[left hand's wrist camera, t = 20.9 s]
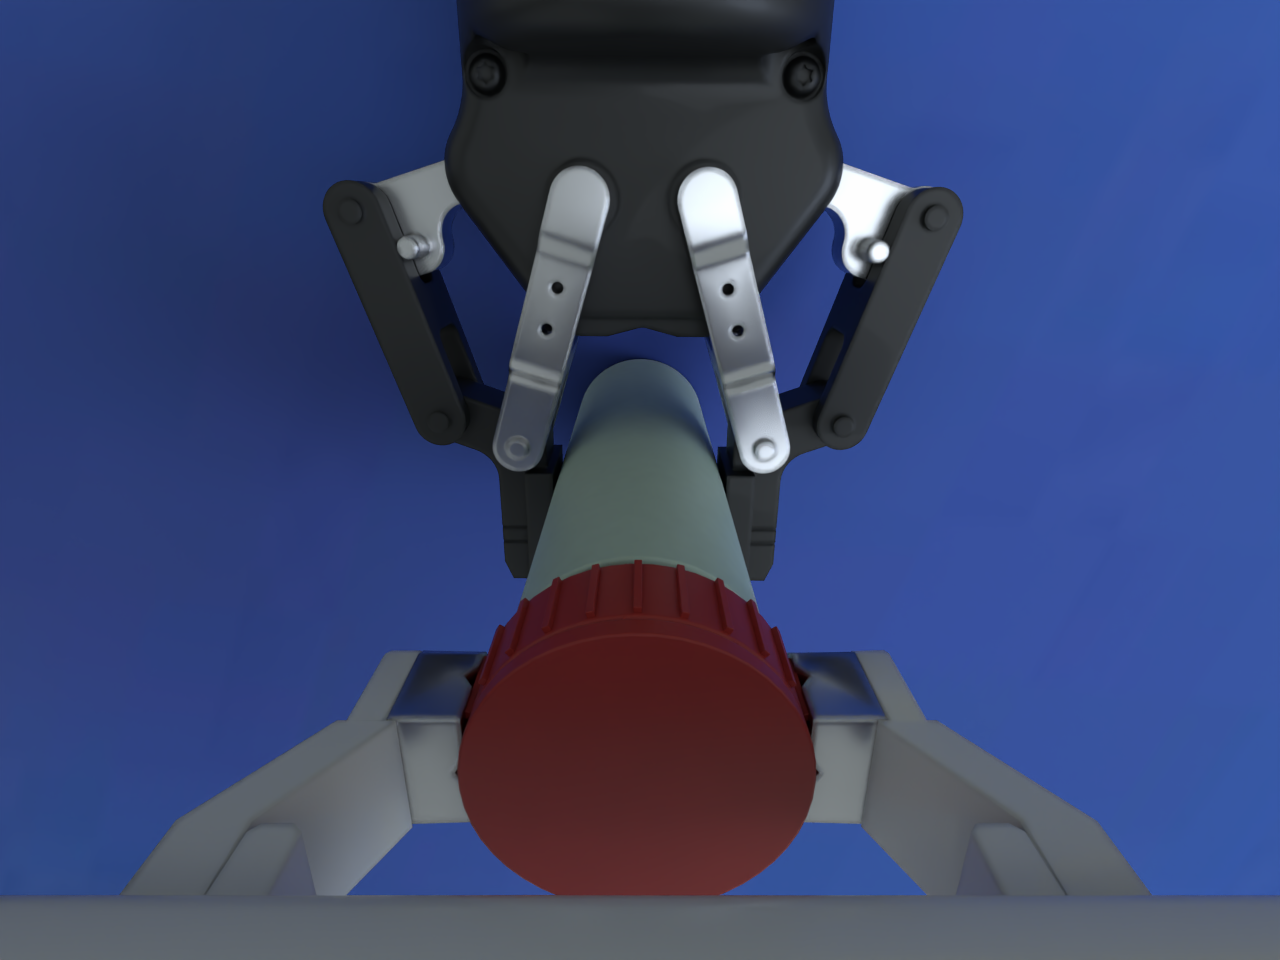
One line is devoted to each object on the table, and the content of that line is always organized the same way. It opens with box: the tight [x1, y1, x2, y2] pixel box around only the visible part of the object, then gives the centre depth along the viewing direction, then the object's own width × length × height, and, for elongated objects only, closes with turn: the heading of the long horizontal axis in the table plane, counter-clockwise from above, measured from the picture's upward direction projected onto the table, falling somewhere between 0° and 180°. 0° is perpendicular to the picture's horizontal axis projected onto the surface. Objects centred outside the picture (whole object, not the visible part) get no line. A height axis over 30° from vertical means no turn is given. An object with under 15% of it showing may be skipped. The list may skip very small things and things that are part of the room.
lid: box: [457, 560, 816, 895], centre depth 10 cm, size 5×5×2 cm
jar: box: [517, 359, 760, 614], centre depth 17 cm, size 4×4×16 cm
